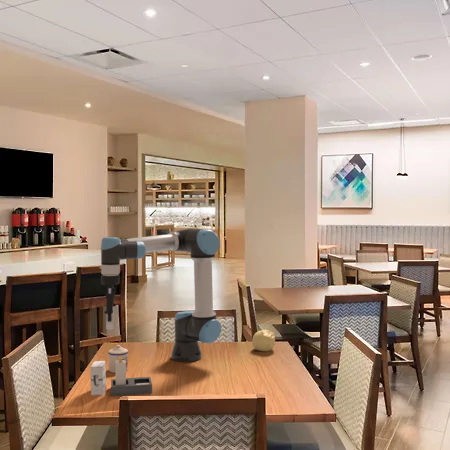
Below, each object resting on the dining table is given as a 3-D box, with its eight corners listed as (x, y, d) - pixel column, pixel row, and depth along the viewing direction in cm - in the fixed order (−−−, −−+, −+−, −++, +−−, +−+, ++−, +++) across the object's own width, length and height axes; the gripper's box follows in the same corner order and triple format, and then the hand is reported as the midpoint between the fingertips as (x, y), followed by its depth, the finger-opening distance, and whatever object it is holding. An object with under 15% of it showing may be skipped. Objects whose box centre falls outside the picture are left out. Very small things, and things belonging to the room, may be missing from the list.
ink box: (93, 389, 217) (93, 360, 217) (106, 389, 217) (106, 360, 217) (90, 396, 208) (90, 366, 208) (103, 396, 209) (103, 366, 208)
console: (150, 386, 221) (150, 376, 221) (152, 394, 211) (152, 384, 211) (111, 388, 217) (111, 378, 217) (111, 397, 208) (111, 386, 208)
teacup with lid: (123, 374, 237) (123, 348, 236) (104, 372, 239) (104, 347, 239) (134, 366, 248) (134, 341, 248) (116, 364, 251) (116, 340, 250)
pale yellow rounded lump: (272, 353, 271) (273, 333, 271) (250, 351, 275) (250, 331, 274) (276, 348, 282) (277, 328, 282) (255, 346, 286) (255, 326, 285)
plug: (125, 389, 216) (125, 356, 215) (125, 392, 212) (125, 358, 211) (115, 389, 215) (115, 356, 214) (115, 393, 211) (115, 359, 211)
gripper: (102, 271, 230) (102, 319, 230) (99, 278, 205) (99, 332, 206) (120, 271, 231) (119, 319, 232) (119, 278, 207) (118, 332, 207)
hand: (110, 325), depth 219 cm, fingers open, 13 cm apart
